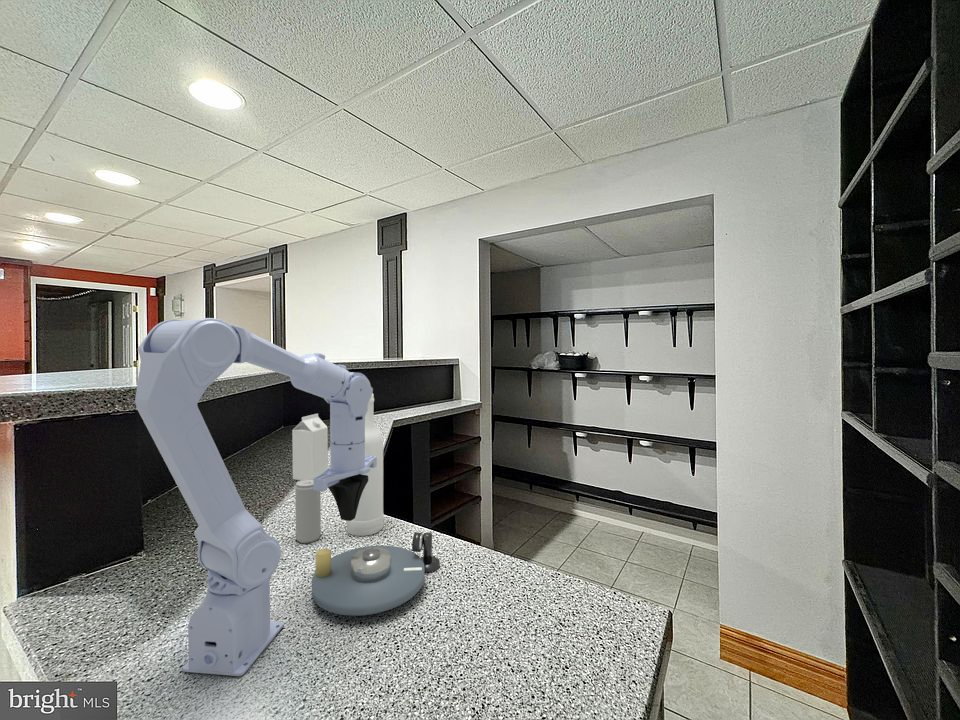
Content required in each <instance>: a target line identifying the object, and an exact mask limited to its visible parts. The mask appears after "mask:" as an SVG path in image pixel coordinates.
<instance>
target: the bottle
mask: <svg viewBox="0 0 960 720" xmlns="http://www.w3.org/2000/svg"><path fill="white" fill-rule="evenodd" d="M374 402H375V397H374V393H373V392H372V396H371V398H370V400H369V402H368V411H367V412H366V415H365V457H366V456H376V457H377V467H375V468H370V472H368V473H366V474H361V475H367V476H368V482H367V484H366V486H365V488H364V490H363V492H362V495H361V498H360V501H359V504H358V509H357V513H356V516H355V519H353V520H351V521H346V520H345V522H346V532H347V533H348V534H349V535H352V536H354V537H355V536H356V537H367V536H371V535H375V534H377V533H379V532H381V530H382V529H383V528H384V519H385V518H384V516H385V515H384V437H383V435H382V432H381V430H380V429H379V428H378V427H377V426H376V425H375V424H374V418H375V417H374V412H375V411H374V409H375V408H374Z"/></svg>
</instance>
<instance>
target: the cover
mask: <svg viewBox="0 0 960 720" xmlns="http://www.w3.org/2000/svg"><path fill="white" fill-rule="evenodd" d="M390 572H391V553H390V551H388V550H387V549H384V548H379V547H373V548H366V549H363V550H360V551H358V552H356V553H355V554H354V555H353V556H352V558H351V577H352V579H353V580H355V581H357V582H360V583H373V582H377V581H380V580H383V579H384V578H386V577H387V576H388V575H389V574H390Z"/></svg>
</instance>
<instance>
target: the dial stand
mask: <svg viewBox="0 0 960 720" xmlns="http://www.w3.org/2000/svg"><path fill="white" fill-rule="evenodd" d="M411 546H412V547H411V549H412V550H411V551H412V552H414V553H415V552H416V553H421V552H422V557H420V558H421V559H422V561H423V563H424V569H425V572H431V573H433V572H432V571H434V572H436V571H438V570H439V568H440V562H441V561H440V559H439V558H438V557H436V556H433V533H431V532H430V531H429V532H424V533H423V532H420V531H419V532H417V531H415V532H414V533H413V536H412V544H411ZM437 569H438V570H437ZM435 570H436V571H435Z"/></svg>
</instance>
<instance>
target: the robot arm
mask: <svg viewBox="0 0 960 720" xmlns="http://www.w3.org/2000/svg"><path fill="white" fill-rule="evenodd" d="M137 352H138V354H139V358H140V363H139V364H140V365H139V372H138V379H137V385H136V393H135V398H134V403H135V406H136V410H137V412H138V413H139V416H140V417H141V419H142V420H143V423H144V425H145V427H146V428H147V431H148V433H149V434H150V436H151V438H152V440H153V442H154V445H156V446H155V447H156V448H157V450H158V452H159V454H160V455H161V457H162V458H163V461H164V462H165V465H166V467H167V468H168V471H169V473H170V474H171V476H172V478H173V480H174V481H175V484H176V485H177V488H178V489H179V492H180V493H181V495H182V497H183V499H184V501H185V503H186V505H187V506H188V508H189V511H190V512H191V514H192V516H193V518H194V519H195V522H196V523H197V525H198V526H197V528H196V529H195V531H194V532H193V534H194V536H195V538H196V541H197V553H196V555H197V561H198V563H199V565H201V567H203V568H205V570H207V590H206V594H205V596H204V598H203V600H202V602H201V604H200V605H198V607H197V608H196V609H195V611H193V613H192V614H191V616H190V618H189V621H188V624H187V625H188V627H187V630H188V632H187V633H188V635H187V636H188V637H187V639H188V641H187V642H188V644H187V645H188V646H187V647H188V661H187V662H186V663H185V664H184V665H183V666H182V672H186V673H195V674H196V673H197V674H206V675H207V674H209V675H219V676H232V677H241V676H243V675H244V674H246V673H247V671H248V670H249V669H250V668H251V666H252V665H253V664H254V662H255V661H257V659H258V657H259V656H260V655H261V654H262V653H263V651H264V650H265V649H266V648H267V647H268V646H269V644H271V642H272V641H273V640H274V639H275V637H276V636H277V635H278V634H279V632H280V631H281V629H282V628H283V627H284V624H285V623H284V622H283V621H275V620H271V586H270V585H271V583H270V581H271V579H272V576H273V574H275V573H274V572H275V571H276V569H277V568H278V566H279V564H280V560H281V555H282V548H281V544H280V543H279V541H278V540H277V539H276V538H275V537H273V536H271V535H269V534H268V533H267V532H266V531H265V529H264V527H263V525H262V523H261V522H260V521H258V520H257V518H255V517H254V516H253V515H252V514H251V513H250V512H249V511H248V510H247V509H246V507H245V505H244V503H243V501H242V498H241V497H240V494H239V492H238V490H237V488H236V485H235V483H234V481H233V480H232V476H231V475H230V473H229V470H228V468H227V467H226V465H225V462H224V460H223V458H222V456H221V454H220V451H219V449H218V447H217V445H216V443H215V440H214V439H213V437H212V434H211V432H210V430H209V428H208V426H207V424H206V421H205V420H204V417H203V415H202V413H201V411H200V408H199V406H198V403H199V401H200V399H201V398H202V397H203V395H204V393H205V392H206V390H207V388H209V386H211V385H212V384H213V383H214V382H215V381H216V380H217V379H218V378H219V377H220V376H221V375H222V374H223V373H224V372H226V371H227V370H228V369H229V368H230V367H231V366H232V364H244V363H248V364H251V365H254V366H257V367H260V368H263V369H266V370H269V371H271V372H275V373H276V374H277V373H278V374H282V376H283V375H284V376H286V377H289V378H290V379H289V380H290V383H291V385H292V386H293V387H294V388H295V389H297V390H300V391H303V392H305V393H308V394H312V395H314V396H317V397H319V398H322V399H324V401H325V402H326V403H327V404H329V412H330V413H329V414H330V415H329V417H330V418H329V420H330V421H329V423H330V424H329V425H330V426H329V427H330V428H329V432H330V433H329V435H330V436H329V437H330V439H329V440H330V442H329V443H330V447H329V449H330V451H329V452H330V459H329V460H330V461H329V462H330V463H329V464H330V466H329V467H328V469H327V470H325V471H324V472H323V473H322V474H321V475H319V476H317V477H315V478H313V490H316V491H320V492H326V491H328V490H329V491H330V493H331V494H332V497H333V498H334V501H335V503H336V506H337V510H338V514H339V516H340V520H342V521H345V522H346V521H351V520H353V519H355V516H356V513H357V509H358V504H359V501H360V498H361V495H362V492H363V490H364V488H365V486H366V484H367V482H368V476H367V475H361V474H366V473H368V472H370V468H375V467H377V457H376V456H366V457H365V415H366V412H367V411H368V402H369V400H370V398H371V396H372V393H373V392H374V388H373V387H372V385H371V382H370V380H369V379H368V377H367V376H366V375H365V374H363V373H362V372H353V371H352V372H351V371H349V370H348V369H347V366H346V365H344V364H335V363H334V362H331V361H328V360H326V355H325V354H324V353H319V352H314V353H307V354H304V355H301V356H299V355H296V354H294V353H292V352H291V351H288V350H286V349H285V348H282V347H280V345H277V344H275V343H273V342H271V341H270V340H267V339H265V338H262V337H260V336H259V335H256V334H255V333H254V332H253V333H252V332H251V331H249V330H247V329H246V328H244V327H242V326H238V325H235V324H229V323H227V322H226V321H224V320H222V319H219V318H214V317H206V318H201V319H190V320H189V319H188V320H187V319H186V320H183V319H168V320H163V321H161V322H159V323H157V324H156V325H155V326H153V327H152V328H151V329H150V330H149V332H148V334H147V335H146V336H145V337H144V339H143V341H142V342H140V344H139V346H138V348H137Z"/></svg>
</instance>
